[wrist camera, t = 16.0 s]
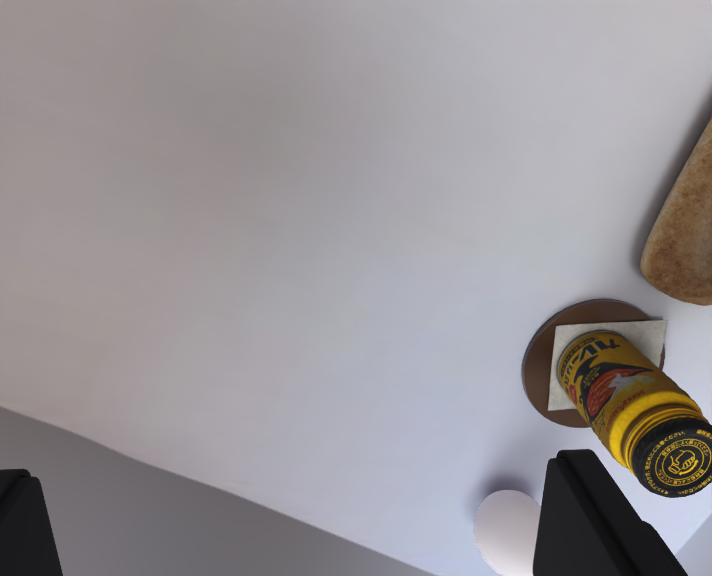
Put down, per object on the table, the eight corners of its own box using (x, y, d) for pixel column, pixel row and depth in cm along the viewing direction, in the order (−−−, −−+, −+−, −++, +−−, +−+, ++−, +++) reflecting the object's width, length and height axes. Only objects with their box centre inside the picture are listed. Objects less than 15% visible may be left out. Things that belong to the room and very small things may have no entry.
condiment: (554, 325, 43) (636, 417, 32) (666, 318, 43) (785, 407, 32) (546, 409, 46) (619, 521, 35) (651, 402, 46) (757, 511, 35)
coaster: (529, 300, 43) (531, 303, 42) (674, 297, 43) (678, 300, 43) (514, 426, 47) (516, 430, 46) (647, 422, 47) (650, 425, 47)
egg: (498, 460, 48) (529, 529, 41) (549, 494, 50) (587, 566, 43) (450, 507, 50) (471, 582, 42) (501, 539, 51) (530, 616, 44)
